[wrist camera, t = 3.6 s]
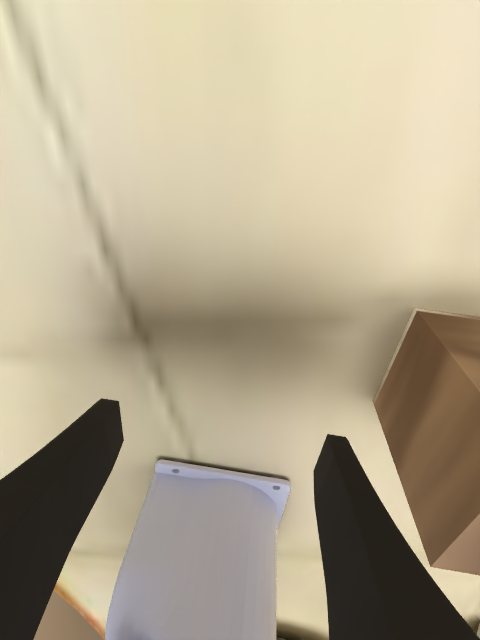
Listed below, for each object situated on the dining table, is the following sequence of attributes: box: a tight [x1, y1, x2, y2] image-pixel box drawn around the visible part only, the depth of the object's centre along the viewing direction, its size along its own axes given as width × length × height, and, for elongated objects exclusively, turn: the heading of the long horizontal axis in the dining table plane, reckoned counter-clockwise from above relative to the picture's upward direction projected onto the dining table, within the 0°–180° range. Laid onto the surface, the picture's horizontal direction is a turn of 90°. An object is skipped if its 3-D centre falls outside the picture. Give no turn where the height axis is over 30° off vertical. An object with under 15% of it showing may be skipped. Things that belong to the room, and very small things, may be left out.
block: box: [373, 308, 480, 575], centre depth 13 cm, size 4×6×8 cm, turn 174°
